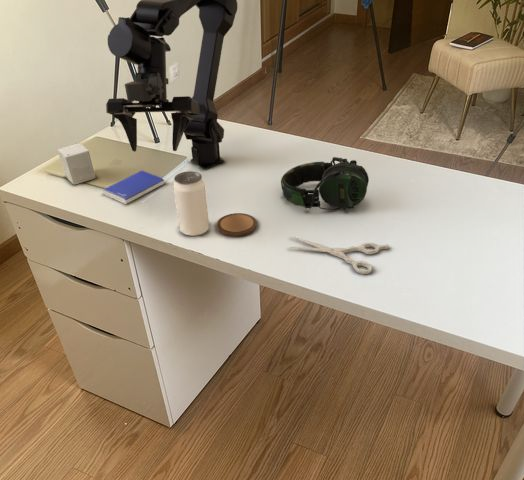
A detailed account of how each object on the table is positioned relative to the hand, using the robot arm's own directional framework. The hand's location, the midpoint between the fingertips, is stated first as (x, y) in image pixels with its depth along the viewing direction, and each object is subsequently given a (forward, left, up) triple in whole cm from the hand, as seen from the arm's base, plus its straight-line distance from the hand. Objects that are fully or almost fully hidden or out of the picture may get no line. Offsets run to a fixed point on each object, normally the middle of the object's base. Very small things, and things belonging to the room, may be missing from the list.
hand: (154, 151), depth 113 cm
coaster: (-8, +17, -14) cm, 23 cm away
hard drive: (0, -13, -14) cm, 20 cm away
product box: (+7, -28, -14) cm, 33 cm away
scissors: (-16, +39, -14) cm, 44 cm away
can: (-1, +12, -14) cm, 18 cm away
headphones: (-30, +22, -14) cm, 40 cm away
